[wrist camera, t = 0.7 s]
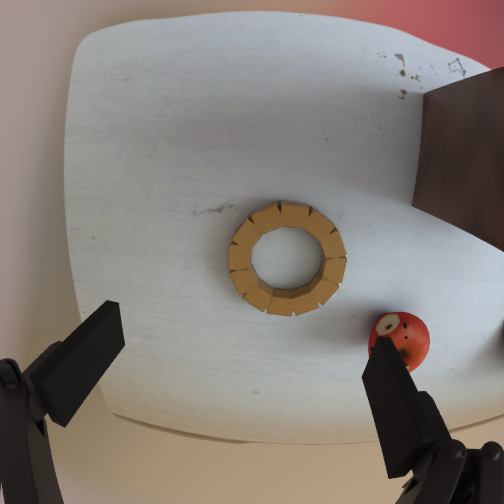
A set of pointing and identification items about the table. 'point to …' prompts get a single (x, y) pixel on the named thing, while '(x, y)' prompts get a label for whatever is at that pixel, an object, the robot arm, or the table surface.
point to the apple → (403, 336)
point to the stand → (464, 156)
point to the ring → (279, 298)
